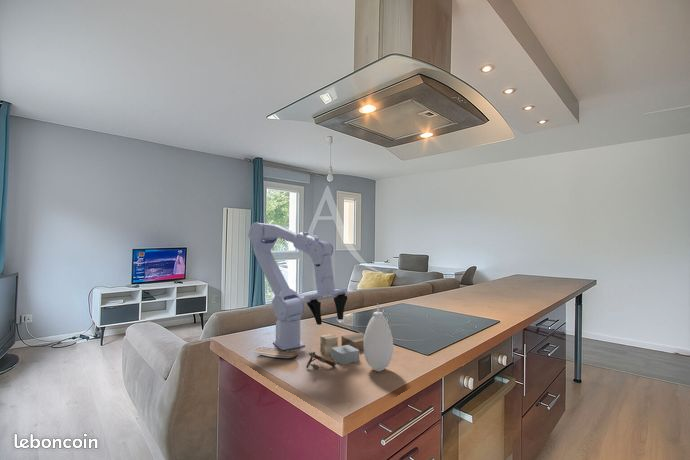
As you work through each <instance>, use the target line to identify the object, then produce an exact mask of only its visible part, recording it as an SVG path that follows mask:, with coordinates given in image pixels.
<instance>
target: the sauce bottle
mask: <svg viewBox="0 0 690 460" xmlns="http://www.w3.org/2000/svg"><path fill="white" fill-rule="evenodd" d="M376 306H377V307H376V311H374V312H373V314H372V315H373V316H372V317H371V318H370V319H369V321H368V323H367V326H366V329H365V332H364V334H365V336H364V346H363V347H364V350H363V354H364V355H363V356H364V357H365V361H366V362H367V365H368V366H369V367H371V369H372V370H373V371H375V372H382V371H384V370H386V368H388V367H389V365H390V363H391V361H392V359H393V355H394V354H393V353H394V339H393V333H392V330H391V327H390V325H389V323H388V321H387V319H386V318H385V317H384V312H381V311H380V307H379V303H377V305H376Z"/></svg>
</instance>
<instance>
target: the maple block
mask: <svg viewBox="0 0 690 460" xmlns="http://www.w3.org/2000/svg"><path fill="white" fill-rule="evenodd" d="M338 338H339V337H338V336H336V335H334V334H333V333H329V334H324V335H320V350H319V352H321V353H322V354H324V355H325V356H331V348H334V347H339V341H338Z"/></svg>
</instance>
